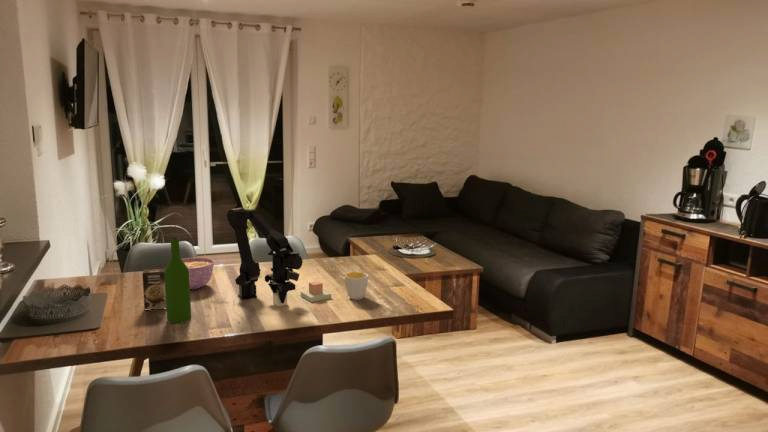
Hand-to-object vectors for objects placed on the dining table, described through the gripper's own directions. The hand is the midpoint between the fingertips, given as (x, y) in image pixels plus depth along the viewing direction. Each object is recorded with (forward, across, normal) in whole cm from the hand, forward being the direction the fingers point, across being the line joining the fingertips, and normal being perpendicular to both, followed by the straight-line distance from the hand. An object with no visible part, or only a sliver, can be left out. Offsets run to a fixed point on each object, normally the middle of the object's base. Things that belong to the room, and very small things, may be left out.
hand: (280, 301), depth 249 cm
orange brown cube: (-1, 0, -17) cm, 17 cm away
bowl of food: (+1, +44, +24) cm, 50 cm away
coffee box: (+1, +23, +45) cm, 51 cm away
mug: (+1, -9, -32) cm, 33 cm away
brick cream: (+1, 0, 0) cm, 1 cm away
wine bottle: (+1, +4, +41) cm, 41 cm away
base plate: (+1, 0, -17) cm, 17 cm away
